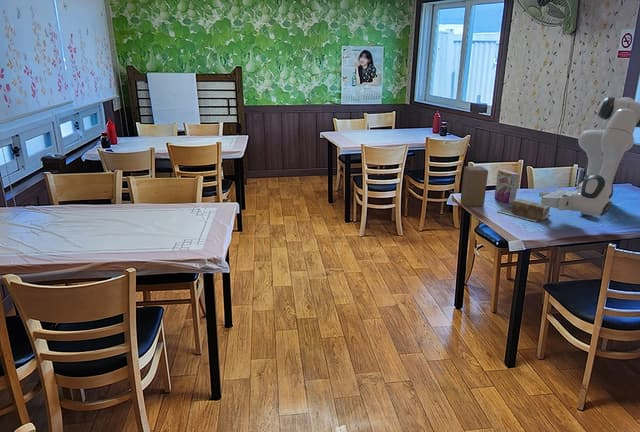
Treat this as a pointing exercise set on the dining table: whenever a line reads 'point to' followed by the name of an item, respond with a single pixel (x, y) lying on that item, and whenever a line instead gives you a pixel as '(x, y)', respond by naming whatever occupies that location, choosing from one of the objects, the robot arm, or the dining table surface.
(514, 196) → the candy bar box
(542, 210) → the walnut block
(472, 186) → the wooden block
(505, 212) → the grey flat plate
